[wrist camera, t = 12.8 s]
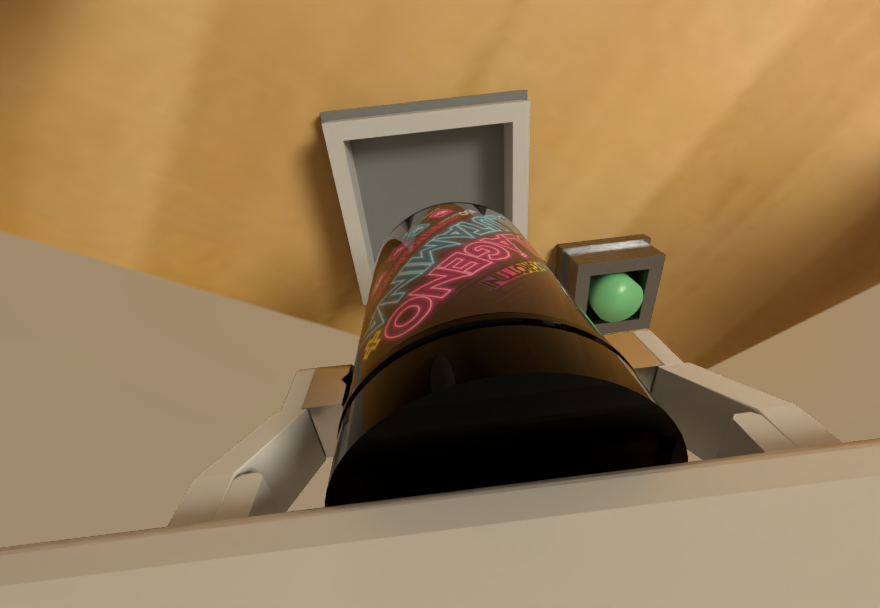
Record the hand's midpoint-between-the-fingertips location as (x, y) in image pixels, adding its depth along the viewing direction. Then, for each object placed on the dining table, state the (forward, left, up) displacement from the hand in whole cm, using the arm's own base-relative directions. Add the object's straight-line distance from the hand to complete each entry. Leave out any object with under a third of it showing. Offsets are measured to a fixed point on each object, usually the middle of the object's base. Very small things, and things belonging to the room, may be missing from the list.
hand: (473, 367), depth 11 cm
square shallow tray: (0, 0, -19) cm, 19 cm away
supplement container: (0, 0, -6) cm, 6 cm away
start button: (-13, +8, -17) cm, 23 cm away
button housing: (-13, +8, -19) cm, 24 cm away
